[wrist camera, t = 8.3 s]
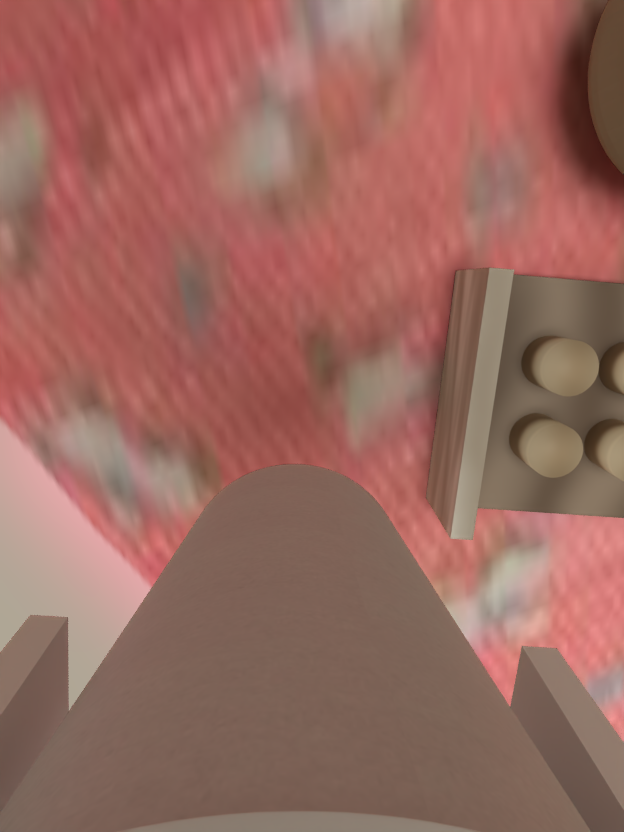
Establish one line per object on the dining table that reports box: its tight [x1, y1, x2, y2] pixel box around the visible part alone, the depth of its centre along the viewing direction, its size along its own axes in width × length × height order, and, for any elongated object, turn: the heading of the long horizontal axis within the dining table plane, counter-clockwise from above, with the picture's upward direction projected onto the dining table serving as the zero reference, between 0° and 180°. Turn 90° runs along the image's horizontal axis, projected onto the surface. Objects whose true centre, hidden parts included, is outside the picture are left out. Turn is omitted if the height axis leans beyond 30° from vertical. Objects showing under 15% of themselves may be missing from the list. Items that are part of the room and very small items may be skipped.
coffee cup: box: [0, 464, 591, 832], centre depth 10 cm, size 10×10×15 cm
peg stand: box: [426, 268, 624, 540], centre depth 32 cm, size 16×14×6 cm
